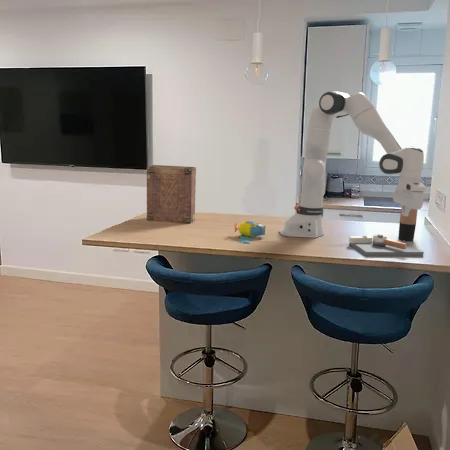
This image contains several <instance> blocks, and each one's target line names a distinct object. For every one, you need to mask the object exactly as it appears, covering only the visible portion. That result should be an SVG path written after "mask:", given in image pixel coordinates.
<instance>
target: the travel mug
mask: <svg viewBox="0 0 450 450" xmlns="http://www.w3.org/2000/svg"><path fill="white" fill-rule="evenodd" d="M418 210H419V209H412V208H411V210H410V212H409V216H404V215H402V208H400V216H399V227H398V237H397V239H398V241H404V242H406V243H408V242H411V243H412V242H414V238H415V234H416V233H415V232H416V228H417V227H416V225H417V218H418Z"/></svg>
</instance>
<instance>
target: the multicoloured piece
mask: <svg viewBox="0 0 450 450" xmlns="http://www.w3.org/2000/svg"><path fill="white" fill-rule="evenodd" d="M372 241H373V243H372V244H373V245H376V246H386V245H388V246H392V247H395V248H399V249H403V250H404V249H406V245H407V244H408V243H407V242H405V243H402V242H397V241H398V240H392V239H389V238H388V237H387V236H384V235H383V234H377V235H375V234H374V235H373V236H372ZM406 243H407V244H406Z"/></svg>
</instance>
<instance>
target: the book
mask: <svg viewBox="0 0 450 450" xmlns="http://www.w3.org/2000/svg"><path fill="white" fill-rule="evenodd" d="M196 178H197V167H194V166H184V165H183V166H181V165H178V166H177V165H161V164H152V165H148V166H146V220H147V222H164V223H165V222H166V223H177V224H191V223H192V224H193V222H194V221H195V219H196V218H195V217H196V216H195V215H196V182H197V181H196V180H197V179H196Z"/></svg>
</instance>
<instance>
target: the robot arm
mask: <svg viewBox="0 0 450 450" xmlns="http://www.w3.org/2000/svg"><path fill="white" fill-rule="evenodd" d="M347 116H349V117H350V118H351V120H352V122H353V123H354V124H353V125H355V127H356V128H357V129H358V131H360V133H361V134H362V135H365V136H368V137H370V138H372V139H374V140H375V141H377V142H378V143H379V144H380V146H381V147H382V148H383V150H384V151H385V153H386V154H383V155H382V156H381V157H380V159H379V161H378V166H379V170H380V171H381V172H382V173H383V174H384V175H385V174H386V175H389V176H393V175H395V176H396V175H399V180H398V183H397V186H395V188H394V191H393V192H394V193H393V197H392V200H393V202H394V203H397V204H400V205H401V208H402V215H404V216H409V212H410V210H411V208H412V209H418V210H421V209H422V208H423V203H424V200H425V199H424V198H425V192H426V190H427V187H426V185H424V184H423V182H422V171H423V168H424V157H425V156H424V154H425V153H424V150H423V149H422V148H419V147H416V146H410V145H409V146H407V145H406V146H405V147H403V148H402V147H401V145H399V143H398V141H397V140H396V138H395V137H394V135H393V134H392V133H391V131H390V130H389V128H388V127H387V125H386V124H385V122H384V121H383V119H382V117H381V116H380V113H379V112H378V110H377V109H376V107H375V106H374V104H373V102H372V101H371V99H369V97H368V96H367V95H366V94H365V93H363V92H355V93H353V94H350V93H346V92H343V91H332V90H331V91H326V92H325V93H323V94H322V95H321V96H320V98H319V100H318V105H317V106H315V107H313V108H312V110H311V112H310V116H309V120H308V127H307V133H306V142H305V148H304V149H305V151H304V159H303V165H302V173H301V174H302V175H301V176H302V178H301V195H300V205H294V206H293V209H294V210H295V211H296V213H294V214H293V215H291V216H290V217H288V218H287V219H286V220H285V222H284V225H283V228H280V229H279V230H278V231H279V234H280V235H282V236H284V237H293V238H295V237H296V238H318V237H321V236H322V237H323V236H324V235H325V234H324V228H323V217H324V207H323V206H324V205H323V204H324V203H323V202H324V194H325V193H324V192H325V183H326V171H327V169H326V167H327V166H326V165H327V158H328V152H329V146H330V145H329V144H330V139H331V138H330V137H331V130H332V122H333V120H334V119H335V118H336V119H339V118H344V117H347ZM401 208H400V209H401Z"/></svg>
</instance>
